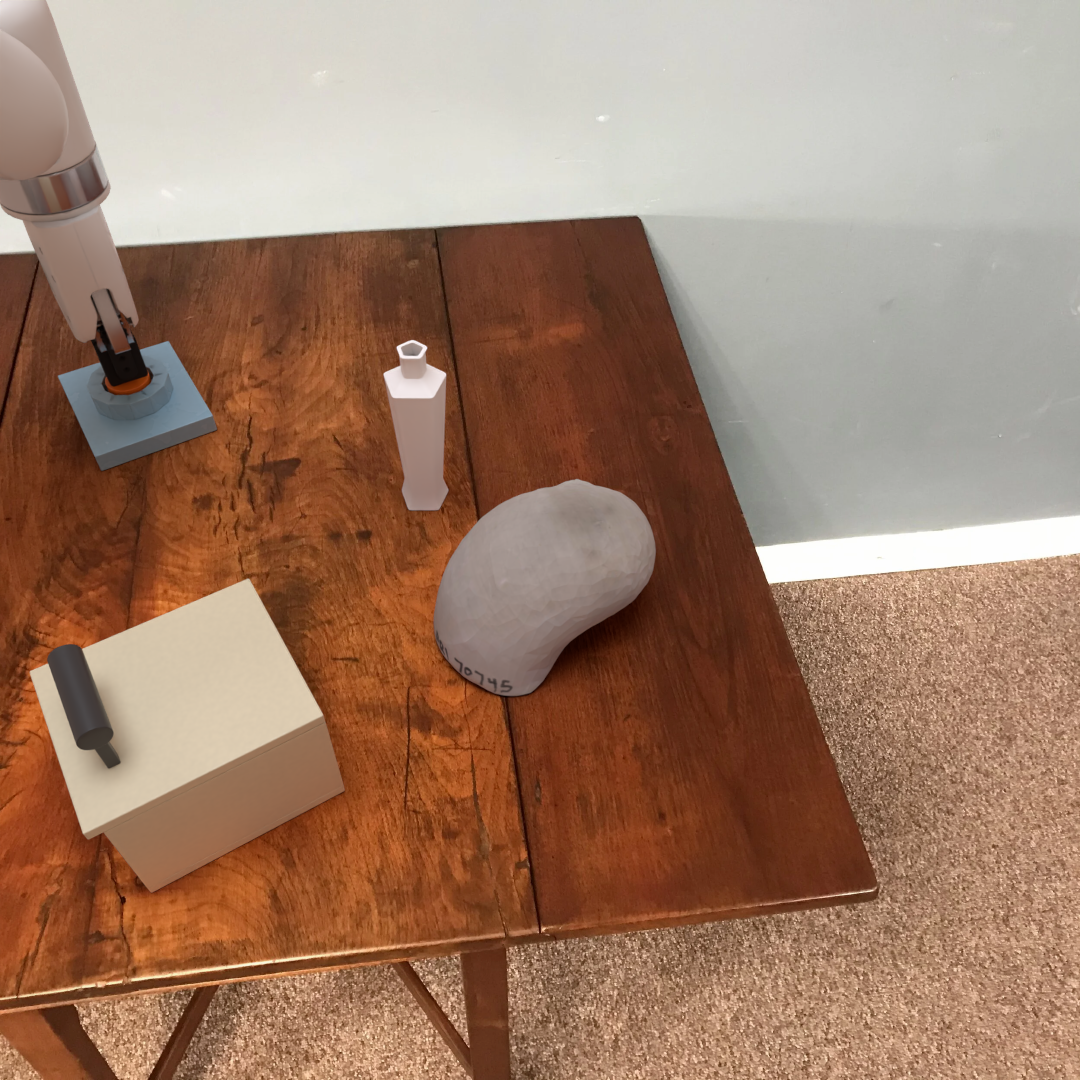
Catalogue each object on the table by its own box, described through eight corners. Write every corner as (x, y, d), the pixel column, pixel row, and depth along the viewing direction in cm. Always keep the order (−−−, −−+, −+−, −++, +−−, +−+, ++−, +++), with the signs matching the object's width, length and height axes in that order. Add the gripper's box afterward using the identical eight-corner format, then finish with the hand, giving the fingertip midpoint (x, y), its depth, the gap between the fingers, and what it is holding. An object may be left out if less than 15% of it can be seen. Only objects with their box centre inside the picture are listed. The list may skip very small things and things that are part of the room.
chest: (151, 893, 56) (103, 833, 49) (96, 744, 62) (47, 672, 56) (345, 790, 61) (325, 722, 54) (276, 661, 67) (251, 585, 60)
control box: (101, 471, 78) (87, 440, 76) (64, 390, 85) (49, 359, 82) (217, 430, 82) (207, 399, 79) (173, 355, 89) (163, 324, 86)
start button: (118, 411, 80) (111, 396, 79) (106, 387, 82) (99, 372, 81) (159, 397, 82) (154, 382, 80) (147, 374, 84) (141, 359, 82)
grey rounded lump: (630, 665, 76) (668, 484, 72) (622, 736, 62) (667, 518, 59) (448, 627, 77) (477, 448, 74) (401, 688, 64) (433, 472, 60)
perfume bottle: (453, 474, 79) (445, 329, 68) (451, 513, 77) (443, 367, 65) (398, 474, 79) (381, 328, 68) (395, 513, 76) (376, 367, 65)
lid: (87, 840, 49) (52, 798, 45) (33, 678, 55) (-2, 629, 51) (325, 722, 54) (312, 675, 50) (251, 585, 60) (234, 534, 56)
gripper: (-30, 143, 69) (60, 343, 83) (18, 240, 61) (108, 443, 75) (74, 120, 72) (144, 317, 86) (133, 210, 64) (199, 412, 78)
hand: (127, 376), depth 81 cm, fingers closed
